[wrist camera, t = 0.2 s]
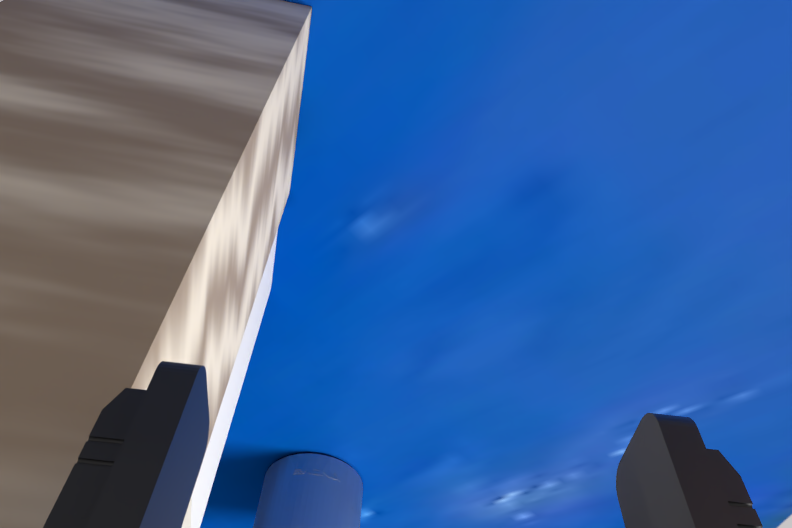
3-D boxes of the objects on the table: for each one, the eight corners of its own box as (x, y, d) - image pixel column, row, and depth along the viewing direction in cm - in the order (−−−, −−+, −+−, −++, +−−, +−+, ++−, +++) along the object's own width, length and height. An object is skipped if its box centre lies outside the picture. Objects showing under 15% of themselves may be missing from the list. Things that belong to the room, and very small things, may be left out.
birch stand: (289, 191, 44) (100, 780, 19) (95, 154, 43) (-392, 726, 17) (311, 6, 37) (55, 547, 11) (81, -43, 36) (-776, 432, 10)
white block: (271, 288, 49) (190, 560, 32) (89, 256, 48) (-93, 521, 31) (279, 208, 45) (192, 473, 28) (81, 171, 44) (-133, 424, 27)
